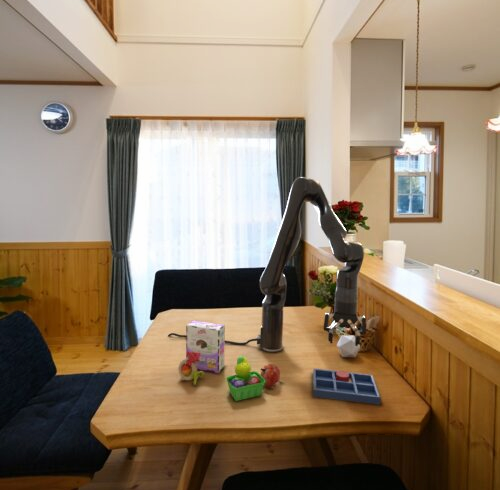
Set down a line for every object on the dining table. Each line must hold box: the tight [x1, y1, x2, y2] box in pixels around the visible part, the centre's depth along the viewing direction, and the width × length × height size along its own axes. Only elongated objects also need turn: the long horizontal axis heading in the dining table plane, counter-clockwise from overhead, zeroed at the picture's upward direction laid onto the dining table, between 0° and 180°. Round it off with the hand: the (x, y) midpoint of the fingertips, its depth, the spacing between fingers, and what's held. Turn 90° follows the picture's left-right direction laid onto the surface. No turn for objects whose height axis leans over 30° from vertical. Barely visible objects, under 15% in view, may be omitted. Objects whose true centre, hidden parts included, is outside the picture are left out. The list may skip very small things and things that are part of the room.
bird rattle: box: [178, 351, 205, 386], centre depth 121 cm, size 6×11×9 cm
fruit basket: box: [225, 355, 265, 402], centre depth 114 cm, size 11×9×11 cm
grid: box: [312, 368, 381, 405], centre depth 119 cm, size 21×14×2 cm
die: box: [336, 334, 361, 358], centre depth 144 cm, size 8×9×10 cm
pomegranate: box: [259, 363, 282, 389], centre depth 120 cm, size 7×7×10 cm
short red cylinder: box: [336, 370, 349, 382], centre depth 122 cm, size 4×4×3 cm
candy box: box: [185, 320, 226, 374], centre depth 131 cm, size 14×6×16 cm, turn 71°
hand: (343, 343), depth 122 cm, fingers open, 8 cm apart
